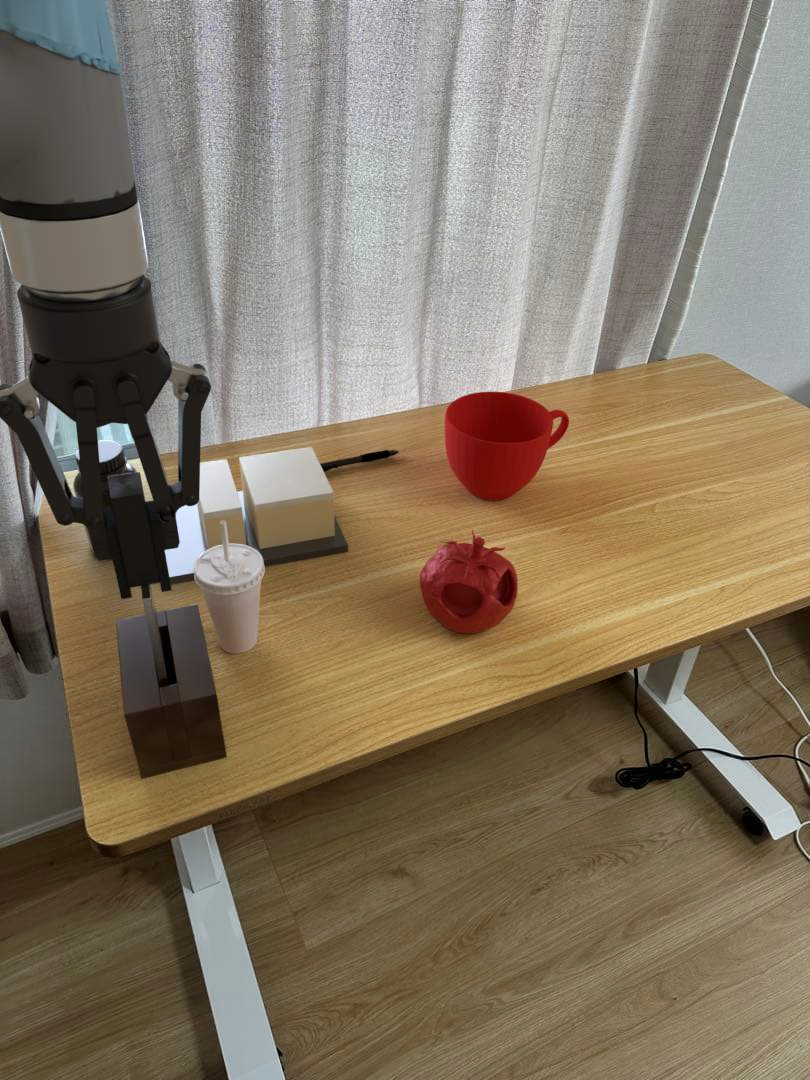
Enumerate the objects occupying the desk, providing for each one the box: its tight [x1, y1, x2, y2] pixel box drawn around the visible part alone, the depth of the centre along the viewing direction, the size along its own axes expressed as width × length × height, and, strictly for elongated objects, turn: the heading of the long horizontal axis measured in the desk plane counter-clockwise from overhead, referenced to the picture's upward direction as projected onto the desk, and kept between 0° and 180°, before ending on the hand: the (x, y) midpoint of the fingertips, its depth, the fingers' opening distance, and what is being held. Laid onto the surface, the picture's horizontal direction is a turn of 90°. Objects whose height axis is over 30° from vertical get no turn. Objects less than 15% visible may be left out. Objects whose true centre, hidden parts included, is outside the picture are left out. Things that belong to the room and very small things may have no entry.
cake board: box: [165, 490, 349, 585], centre depth 93 cm, size 20×14×1 cm
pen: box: [319, 449, 399, 473], centre depth 104 cm, size 14×2×1 cm, turn 113°
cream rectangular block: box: [197, 458, 246, 549], centre depth 90 cm, size 4×10×6 cm, turn 19°
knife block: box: [115, 603, 228, 779], centre depth 69 cm, size 7×11×8 cm, turn 19°
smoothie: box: [194, 520, 266, 654], centre depth 75 cm, size 6×6×14 cm
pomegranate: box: [418, 529, 519, 634], centre depth 81 cm, size 10×10×9 cm
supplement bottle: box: [72, 439, 138, 551], centre depth 87 cm, size 7×7×12 cm
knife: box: [108, 471, 169, 687], centre depth 61 cm, size 2×6×18 cm, turn 19°
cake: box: [238, 446, 335, 549], centre depth 92 cm, size 9×10×6 cm
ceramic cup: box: [444, 391, 570, 501], centre depth 100 cm, size 13×17×10 cm
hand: (145, 583), depth 61 cm, fingers closed on knife, 2 cm apart
